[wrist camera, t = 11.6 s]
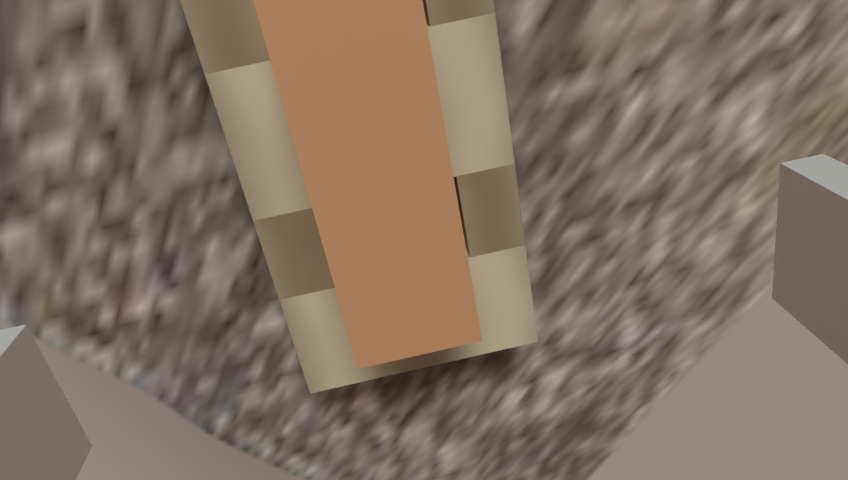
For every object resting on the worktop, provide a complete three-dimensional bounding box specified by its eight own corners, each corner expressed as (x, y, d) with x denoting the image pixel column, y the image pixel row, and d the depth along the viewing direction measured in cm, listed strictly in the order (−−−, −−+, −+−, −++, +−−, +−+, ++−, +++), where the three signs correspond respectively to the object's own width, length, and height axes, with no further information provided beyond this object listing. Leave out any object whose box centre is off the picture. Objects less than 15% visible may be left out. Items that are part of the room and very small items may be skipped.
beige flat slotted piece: (436, -252, 22) (455, -287, 19) (514, 295, 32) (537, 341, 28) (145, -194, 22) (108, -218, 18) (313, 340, 32) (310, 393, 28)
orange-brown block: (276, -51, 24) (241, -40, 15) (382, -73, 24) (409, -75, 15) (351, 235, 30) (358, 369, 21) (437, 216, 30) (482, 341, 21)
